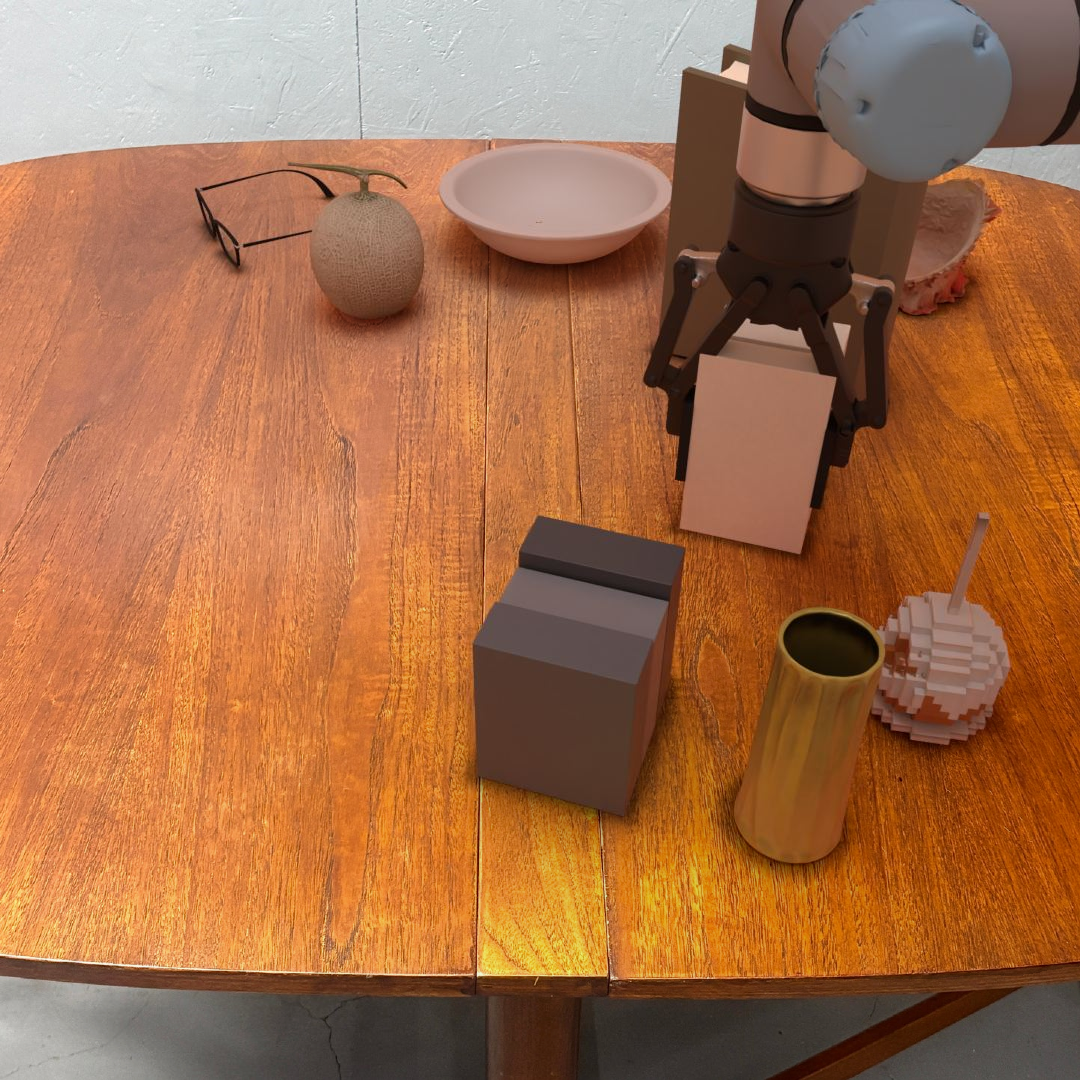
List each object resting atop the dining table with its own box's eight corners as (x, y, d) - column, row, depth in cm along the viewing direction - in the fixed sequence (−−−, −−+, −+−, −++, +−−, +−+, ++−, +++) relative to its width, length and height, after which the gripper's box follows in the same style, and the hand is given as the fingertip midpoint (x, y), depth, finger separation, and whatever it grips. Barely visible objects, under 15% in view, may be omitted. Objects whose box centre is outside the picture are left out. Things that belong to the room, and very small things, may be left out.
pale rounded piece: (858, 649, 76) (907, 466, 66) (979, 666, 75) (1047, 482, 65) (861, 738, 70) (915, 551, 61) (993, 757, 69) (1069, 570, 60)
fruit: (455, 302, 112) (449, 151, 103) (374, 349, 105) (359, 192, 95) (376, 271, 117) (363, 124, 107) (294, 315, 110) (272, 162, 100)
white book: (800, 554, 83) (836, 377, 74) (679, 528, 86) (699, 353, 76) (805, 534, 85) (841, 358, 76) (686, 509, 87) (707, 335, 78)
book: (890, 373, 103) (959, 89, 87) (856, 416, 97) (922, 121, 81) (699, 314, 111) (729, 43, 95) (657, 350, 105) (682, 70, 89)
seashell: (875, 244, 127) (782, 276, 119) (892, 145, 121) (795, 171, 113) (1011, 292, 116) (917, 330, 108) (1037, 186, 110) (940, 218, 102)
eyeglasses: (193, 218, 126) (186, 183, 124) (329, 192, 132) (325, 157, 129) (238, 280, 115) (231, 243, 112) (384, 248, 121) (381, 212, 118)
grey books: (624, 817, 65) (637, 677, 58) (476, 776, 68) (471, 636, 60) (669, 684, 73) (686, 546, 66) (536, 651, 76) (537, 514, 68)
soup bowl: (400, 230, 125) (396, 170, 120) (582, 183, 135) (584, 126, 131) (520, 322, 109) (520, 258, 105) (714, 261, 120) (721, 200, 115)
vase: (859, 856, 64) (916, 677, 55) (754, 874, 63) (795, 695, 54) (817, 770, 68) (863, 592, 59) (718, 786, 67) (750, 607, 58)
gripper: (991, 182, 68) (908, 484, 83) (637, 135, 73) (618, 427, 88) (986, 234, 63) (899, 547, 77) (605, 179, 68) (590, 483, 82)
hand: (749, 483), depth 83 cm, fingers closed on white book, 9 cm apart
